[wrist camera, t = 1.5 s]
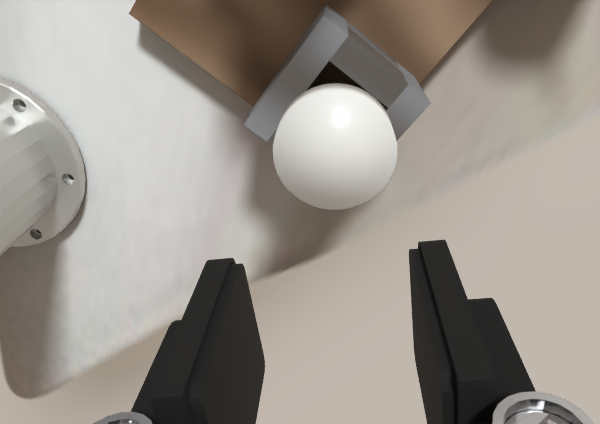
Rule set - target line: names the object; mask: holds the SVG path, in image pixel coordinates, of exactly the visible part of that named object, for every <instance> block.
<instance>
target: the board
mask: <svg viewBox="0 0 600 424" xmlns="http://www.w3.org/2000/svg"><path fill="white" fill-rule="evenodd" d="M491 1H492V0H136V2H135V4H134V5H133V7H132V9H131V11H130V13H129V14H130V15H131V16H133V17H134V18H135V19H137V20H138V21H139V22H141V23H142V24H143V25H145V26H146V27H148V28H149V29H150V30H152V31H153V32H154V33H156V34H157V35H158V36H160V37H161V38H162V39H164V40H165V41H166V42H168V43H169V44H170V45H172V46H173V47H174V48H176V49H177V50H178V51H180V52H181V53H182V54H184V55H185V56H187V57H188V58H189V59H191V60H192V61H193V62H195V63H196V64H197V65H199V66H200V67H201V68H203V69H204V70H205V71H207V72H208V73H209V74H211V75H212V76H213V77H215V78H216V79H217V80H219V81H220V82H221V83H223V84H224V85H226V86H227V87H228V88H230V89H231V90H232V91H234V92H235V93H236V94H238V95H239V96H240V97H242V98H243V99H244V100H246V101H247V102H248V103H250V104H251V105H252V106H254V107H253V109H252V111H251V113H250V114H249V116H248V118H247V120H246V122H245V124H244V126H245V127H247V128H248V129H249V130H251V131H252V132H254V133H255V134H256V135H258V136H259V137H260V138H262V139H263V140H265V141H266V142H267V143H269V144H270V145H271V146H273V143H274V138H275V134H276V131H277V128H278V125H279V123H280V120H281V117H282V115H283V113H284V112H285V110H286V109H287V107H288V106H289V105H290V103H291V102H292V101H293V100H294V99H295V98H297V97H298V96H299V95H300V94H302V93H303V92H305V91H307V90H309V89H311V88H313V87H316V86H319V85H323V84H329V83H341V84H348V85H352V86H355V87H358V88H360V89H362V90H364V91H366V92H368V93H369V94H371V95H372V96H373V97H374V98H376V99H377V100H378V101H379V102H380V104H381V105H382V106H383V107H384V109H385V110H386V112H387V114H388V116H389V118H390V121H391V124H392V127H393V130H394V134H395V137H396V141H397V140H398V139H399V138H400V137H401V136H402V135H403V133H404V132H405V131H406V130H407V129H408V128H409V127H410V126H411V125H412V123H413V122H414V121H415V120H416V119H417V118H418V117H419V116H420V115H421V113H422V112H423V111H424V110H425V109H426V108H427V107H428V106H429V105H430V101H429V99H428V98H427V96H426V95H425V93H424V91H423V90H422V88H421V87H420V85H419V84H420V83H421V81H422V80H423V79H424V78H425V77H426V76H427V75H428V73H429V72H430V71H431V70H432V69H433V68H434V67H435V65H436V64H437V63H438V62H439V61H440V60H441V58H442V57H443V56H444V55H445V54H446V53H447V52H448V50H449V49H450V48H451V47H452V46H453V45H454V44H455V42H456V41H457V40H458V39H459V38H460V37H461V36H462V34H463V33H464V32H465V31H466V30H467V29H468V28H469V26H470V25H471V24H472V23H473V22H474V21H475V20H476V18H477V17H478V16H479V15H480V14H481V13H482V12H483V10H484V9H485V8H486V7H487V6H488V5H489V4H490V2H491Z"/></svg>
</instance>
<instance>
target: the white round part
mask: <svg viewBox="0 0 600 424" xmlns="http://www.w3.org/2000/svg"><path fill="white" fill-rule="evenodd" d="M396 159H397V142H396V137H395V134H394V130H393V127H392V124H391V121H390V118H389V116H388V114H387V112H386V110H385V109H384V107H383V106H382V105H381V104H380V102H379V101H378V100H377V99H376V98H374V97H373V96H372V95H371V94H369V93H368V92H366V91H364V90H362V89H360V88H358V87H355V86H352V85H348V84H341V83H329V84H323V85H319V86H316V87H313V88H311V89H309V90H307V91H305V92H303V93H302V94H300V95H299V96H298V97H297V98H295V99H294V100H293V101H292V102H291V103H290V105H289V106H288V107H287V109H286V110H285V112H284V113H283V115H282V117H281V120H280V123H279V125H278V128H277V131H276V134H275V138H274V143H273V161H274V165H275V169H276V171H277V174H278V176H279V178H280V180H281V182H282V183H283V184H284V186H285V187H286V188H287V189H288V190H289V191H290V192H291V193H292V194H293V195H294V196H295V197H297V198H298V199H300V200H301V201H303V202H305V203H307V204H309V205H311V206H314V207H317V208H322V209H329V210H341V209H348V208H352V207H355V206H358V205H360V204H363V203H365V202H366V201H368V200H370V199H371V198H373V197H374V196H375V195H377V194H378V193H379V192H380V191H381V190H382V189H383V188H384V186H385V185H386V184H387V182H388V181H389V179H390V177H391V175H392V173H393V171H394V168H395V164H396Z"/></svg>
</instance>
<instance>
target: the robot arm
mask: <svg viewBox="0 0 600 424" xmlns="http://www.w3.org/2000/svg"><path fill="white" fill-rule="evenodd" d="M85 182H86V179H85V171H84V163H83V160H82V157H81V154H80V151H79V148H78V146H77V144H76V142H75V140H74V138H73V136H72V134H71V132H70V131H69V129H68V128H67V127H66V125H65V124H64V123H63V121H62V120H61V119H60V117H59V116H58V115H57V114H56V113H55V112H54V111H53V110H52V109H51V108H50V107H49V106H48V105H47V104H46V103H45V102H44V101H43V100H41V99H40V98H38V97H37V96H36V95H34V94H33V93H32V92H30V91H29V90H27V89H26V88H24V87H22V86H20V85H18V84H16V83H14V82H12V81H10V80H7V79H4V78H1V77H0V256H1V255H2V254H3V253H4V252H5V251H6V250H7V249H9V248H10V247H27V246H31V245H36V244H40V243H42V242H45V241H47V240H49V239H51V238H53V237H54V236H56V235H57V234H58V233H60V232H61V231H62V230H64V228H65V227H66V226H67V225H68V224H69V223H70V222H71V221H72V220H73V219H74V217H75V216H76V214H77V212H78V211H79V209H80V207H81V204H82V201H83V198H84V193H85ZM409 264H410V282H411V301H412V319H413V339H414V353H415V361H416V367H417V372H418V377H419V382H420V387H421V393H422V398H423V403H424V409H425V414H426V419H427V424H593V422H592V420H591V419H590V418H589V417H588V416H587V415H586V414H585V413H584V412H583V411H582V410H581V409H580V408H578V407H577V406H575V405H574V404H572V403H570V402H569V401H567V400H565V399H562V398H560V397H557V396H555V395H552V394H547V393H541V392H536V391H535V389H534V387H533V384H532V382H531V380H530V378H529V376H528V373H527V371H526V369H525V367H524V364H523V362H522V360H521V358H520V355H519V353H518V351H517V349H516V347H515V345H514V342H513V340H512V338H511V336H510V333H509V331H508V329H507V327H506V324H505V322H504V320H503V318H502V316H501V314H500V311H499V309H498V307H497V304H496V303H495V301H494V299H492V298H483V299H469V300H468V299H467V296H466V294H465V291H464V288H463V286H462V283H461V280H460V278H459V275H458V272H457V270H456V267H455V264H454V262H453V259H452V256H451V254H450V251H449V248H448V246H447V243H446V241H445V240H437V241H436V240H435V241H424V242H419V243H418V249H410V250H409ZM264 371H265V361H264V354H263V349H262V345H261V341H260V336H259V331H258V327H257V322H256V318H255V313H254V309H253V304H252V300H251V295H250V291H249V286H248V282H247V277H246V272H245V268H244V266H243V264H236V263H235V261H234V259H233V258H226V259H215V260H208V261H207V262H206V264H205V266H204V269H203V271H202V273H201V276H200V278H199V280H198V283H197V285H196V287H195V290H194V292H193V294H192V297H191V299H190V301H189V304H188V306H187V308H186V311H185V313H184V315H183V318H182V320H177V321H174V322H172V323H171V325H170V326H169V328H168V330H167V333H166V335H165V337H164V339H163V341H162V344H161V346H160V349H159V351H158V353H157V355H156V357H155V359H154V361H153V364H152V366H151V368H150V370H149V372H148V375H147V377H146V379H145V381H144V384H143V386H142V388H141V390H140V392H139V395H138V397H137V399H136V401H135V404H134V406H133V408H132V410H131V412H120V413H117V414H113V415H110V416H107V417H105V418H103V419H101V420H99V421H97V422H95V423H94V424H255V423H256V418H257V412H258V406H259V401H260V395H261V389H262V384H263V378H264Z"/></svg>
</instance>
